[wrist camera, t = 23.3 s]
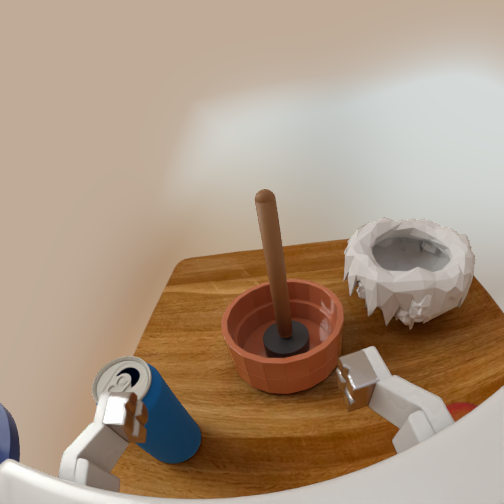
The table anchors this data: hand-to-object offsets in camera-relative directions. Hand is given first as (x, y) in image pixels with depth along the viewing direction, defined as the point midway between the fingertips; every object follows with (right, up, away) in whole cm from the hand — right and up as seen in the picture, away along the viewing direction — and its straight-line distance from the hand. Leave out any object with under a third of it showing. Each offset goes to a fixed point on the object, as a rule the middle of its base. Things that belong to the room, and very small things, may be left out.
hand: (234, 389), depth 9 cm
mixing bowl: (+5, -7, +24) cm, 25 cm away
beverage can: (-8, -15, +14) cm, 22 cm away
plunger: (+5, -7, +23) cm, 25 cm away
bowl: (+24, -2, +27) cm, 36 cm away
